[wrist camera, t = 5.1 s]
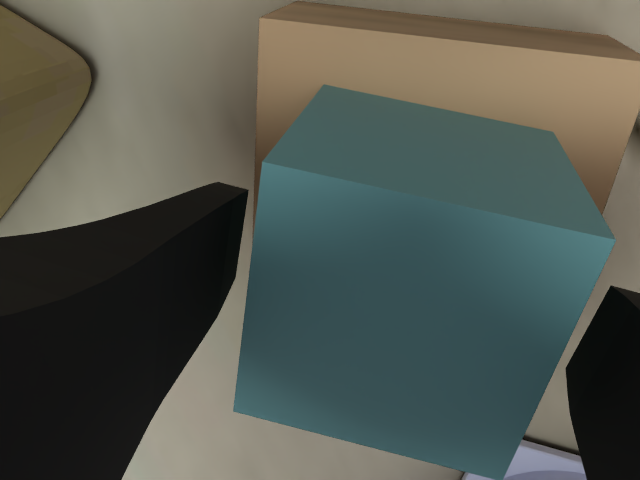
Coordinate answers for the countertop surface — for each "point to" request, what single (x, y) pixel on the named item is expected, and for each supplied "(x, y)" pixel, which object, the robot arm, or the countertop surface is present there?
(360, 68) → the oak block
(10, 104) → the cheese
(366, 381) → the teal block
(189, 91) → the countertop surface
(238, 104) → the countertop surface
